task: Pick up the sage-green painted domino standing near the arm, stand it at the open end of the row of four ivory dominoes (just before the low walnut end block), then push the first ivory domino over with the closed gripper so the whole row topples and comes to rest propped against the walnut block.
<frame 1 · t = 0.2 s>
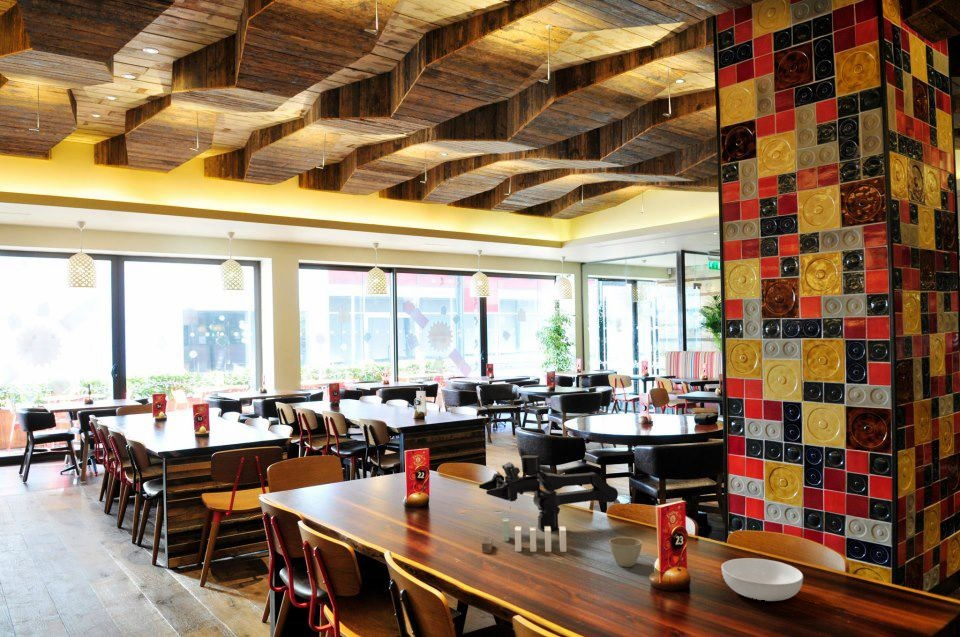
hand: (482, 489, 255), 17 cm above the table, tool horizontal, fingers open, 9 cm apart
domino 3: (533, 549, 238), on the table
domino 4: (518, 549, 239), on the table
domino sage: (506, 539, 250), on the table
serving bowl: (762, 595, 194), on the table
domino 1: (563, 549, 238), on the table
domino 2: (548, 549, 238), on the table
end block: (487, 548, 239), on the table
flower pot: (625, 564, 221), on the table
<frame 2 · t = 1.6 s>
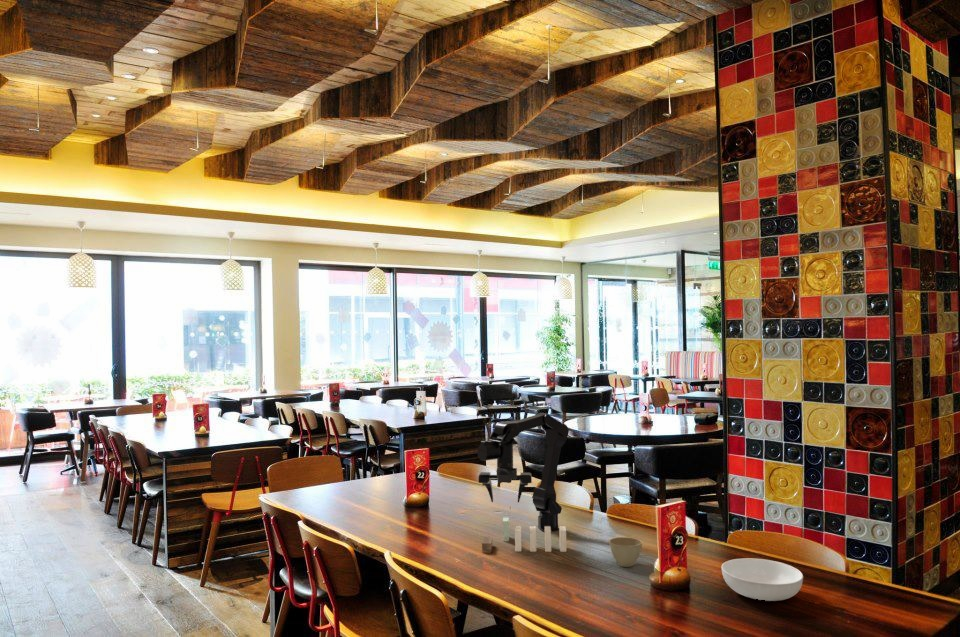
hand: (505, 502, 251), 13 cm above the table, tool pointing down, fingers open, 9 cm apart
nothing on the table moved.
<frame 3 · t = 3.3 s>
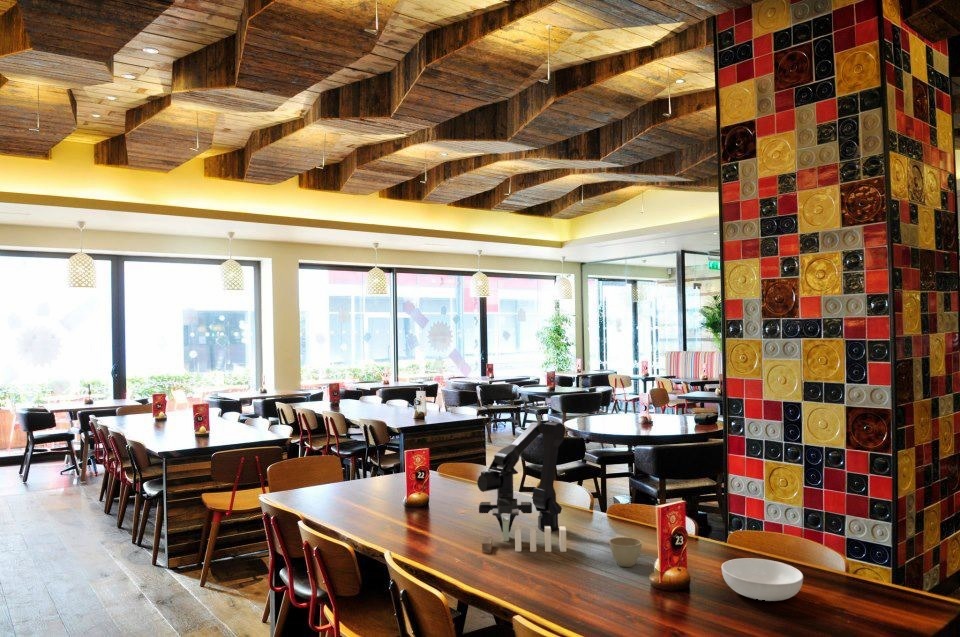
hand: (506, 531, 250), 3 cm above the table, tool pointing down, fingers closed on domino sage, 2 cm apart
domino sage: (506, 539, 250), on the table, touching gripper
everything else where it was.
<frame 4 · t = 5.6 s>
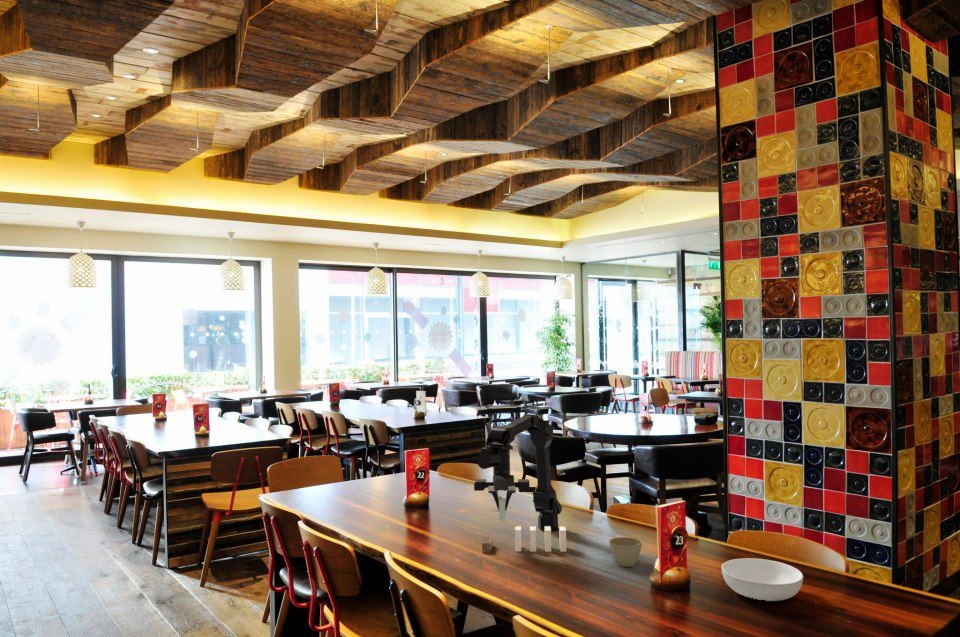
hand: (502, 510, 239), 13 cm above the table, tool pointing down, fingers closed on domino sage
domino sage: (502, 518, 239), point 10 cm above the table, touching gripper
everything else where it was.
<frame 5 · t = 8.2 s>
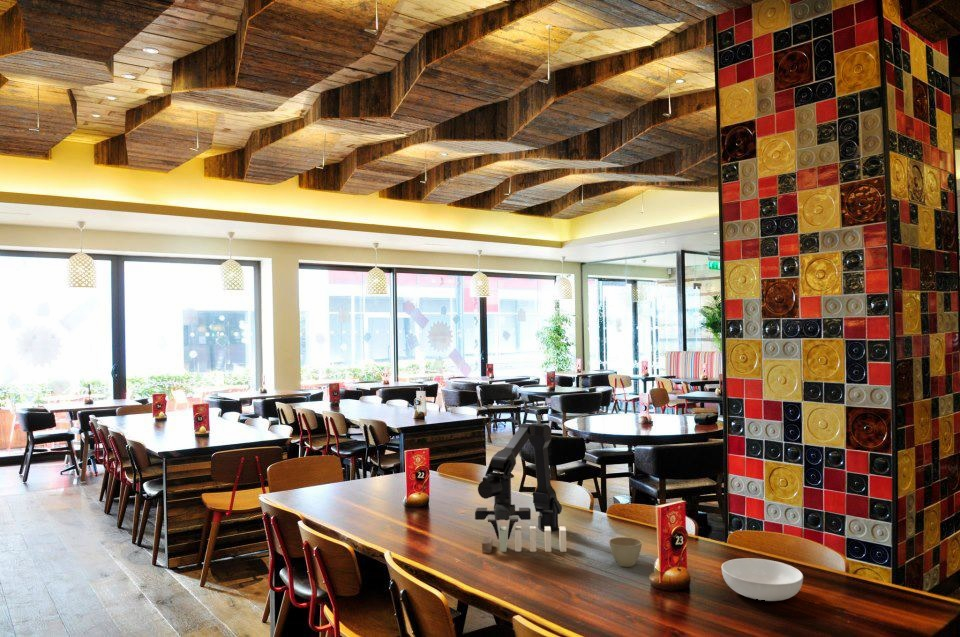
hand: (503, 539, 239), 3 cm above the table, tool pointing down, fingers open, 3 cm apart
domino sage: (503, 549, 239), on the table
everything else where it was.
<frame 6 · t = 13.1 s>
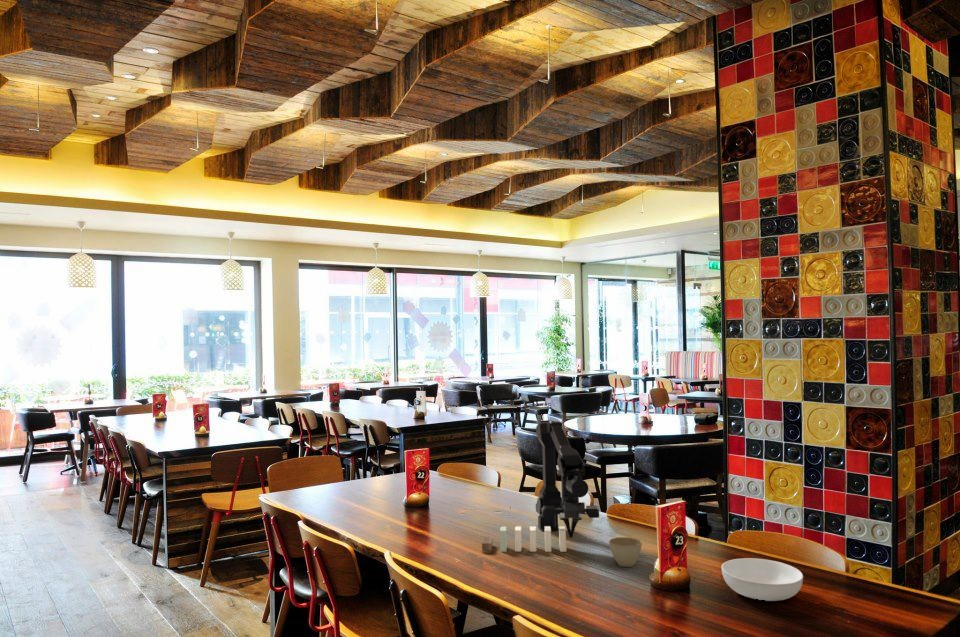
hand: (570, 537, 237), 4 cm above the table, tool pointing down, fingers closed
domino 1: (563, 549, 238), on the table, touching gripper
everything else where it was.
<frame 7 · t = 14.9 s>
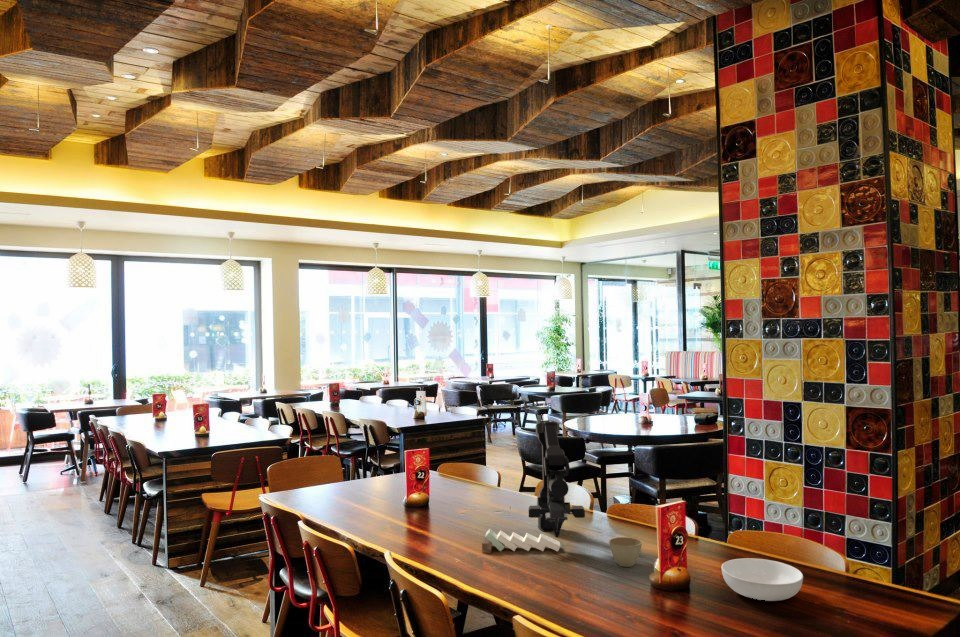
hand: (556, 537, 238), 4 cm above the table, tool pointing down, fingers closed
domino 3: (529, 546, 238), point 1 cm above the table, tilted 61°, touching domino 4
domino 4: (515, 546, 239), point 1 cm above the table, tilted 55°, touching domino 3, domino sage
domino sage: (502, 547, 239), point 1 cm above the table, tilted 45°, touching domino 4, end block
domino 1: (558, 546, 238), point 1 cm above the table, tilted 65°, touching domino 2
domino 2: (544, 546, 238), point 1 cm above the table, tilted 64°, touching domino 1
everything else where it was.
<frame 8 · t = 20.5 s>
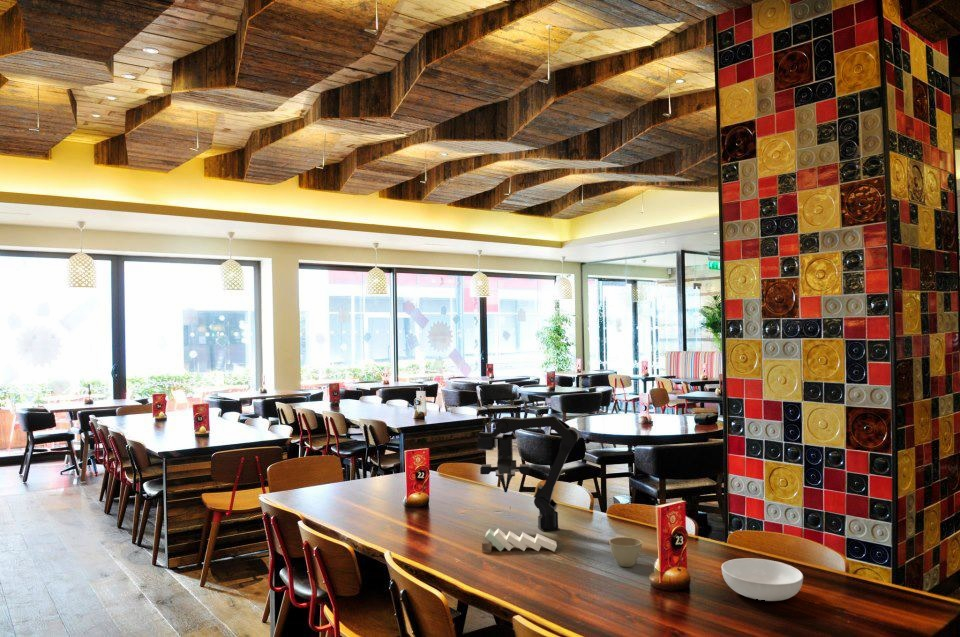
hand: (505, 492, 266), 13 cm above the table, tool pointing down, fingers closed
domino 3: (525, 546, 238), point 1 cm above the table, tilted 58°, touching domino 2, domino 4
domino 4: (511, 546, 239), point 1 cm above the table, tilted 45°, touching domino 3, domino sage
domino 1: (555, 546, 238), point 1 cm above the table, tilted 66°, touching domino 2
domino 2: (539, 546, 238), point 1 cm above the table, tilted 63°, touching domino 1, domino 3
everything else where it was.
at the end: domino sage tilted 45°; domino 1 tilted 66°; the gripper is holding nothing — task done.
